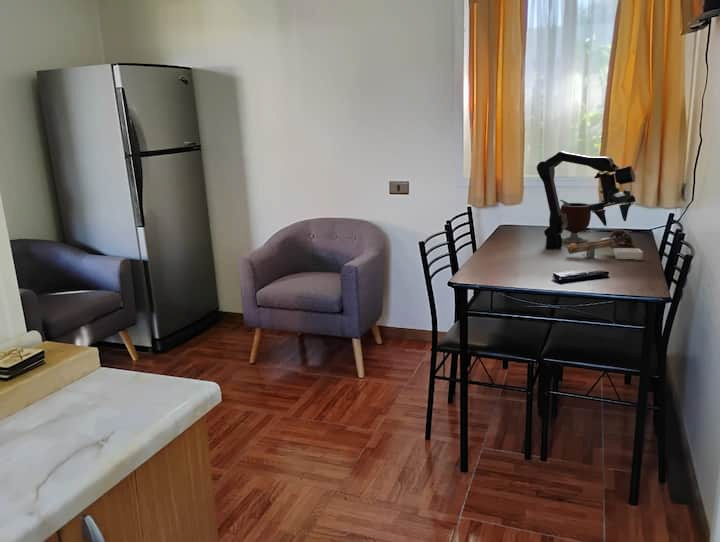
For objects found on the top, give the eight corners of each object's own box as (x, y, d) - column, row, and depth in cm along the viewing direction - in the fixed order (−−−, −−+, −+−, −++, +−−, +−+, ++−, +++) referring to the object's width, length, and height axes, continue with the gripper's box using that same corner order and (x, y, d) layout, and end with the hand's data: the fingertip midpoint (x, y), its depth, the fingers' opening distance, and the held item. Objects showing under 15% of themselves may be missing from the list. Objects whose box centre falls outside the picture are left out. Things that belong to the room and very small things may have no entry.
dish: (616, 259, 248) (616, 252, 247) (612, 255, 255) (613, 248, 255) (642, 259, 246) (643, 252, 246) (638, 256, 253) (638, 248, 253)
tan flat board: (569, 254, 252) (568, 247, 252) (565, 247, 266) (564, 241, 265) (615, 245, 248) (614, 238, 248) (608, 239, 261) (607, 232, 261)
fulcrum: (585, 259, 250) (586, 247, 249) (582, 255, 258) (583, 243, 257) (598, 259, 249) (599, 247, 248) (594, 255, 257) (595, 243, 256)
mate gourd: (576, 236, 299) (578, 196, 294) (595, 241, 286) (598, 199, 281) (549, 239, 294) (551, 198, 290) (567, 244, 281) (570, 201, 277)
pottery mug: (637, 248, 271) (631, 233, 267) (616, 257, 273) (610, 242, 270) (628, 236, 281) (622, 222, 278) (608, 245, 284) (602, 231, 281)
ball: (571, 251, 253) (568, 245, 253) (570, 250, 256) (567, 244, 256) (578, 248, 252) (575, 242, 252) (577, 247, 255) (574, 241, 255)
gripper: (599, 190, 245) (606, 227, 246) (640, 180, 248) (647, 218, 249) (584, 192, 256) (591, 228, 257) (624, 183, 259) (630, 218, 260)
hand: (615, 223), depth 256 cm, fingers open, 9 cm apart
